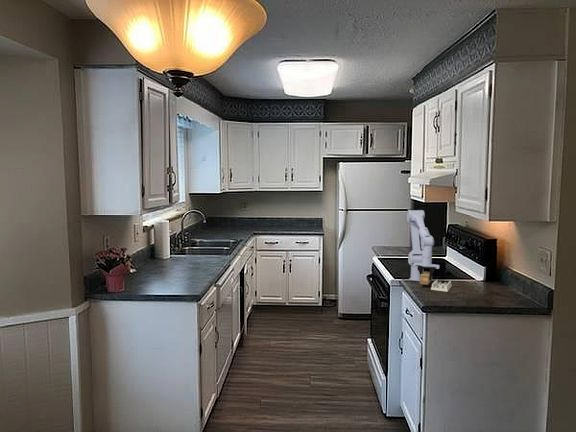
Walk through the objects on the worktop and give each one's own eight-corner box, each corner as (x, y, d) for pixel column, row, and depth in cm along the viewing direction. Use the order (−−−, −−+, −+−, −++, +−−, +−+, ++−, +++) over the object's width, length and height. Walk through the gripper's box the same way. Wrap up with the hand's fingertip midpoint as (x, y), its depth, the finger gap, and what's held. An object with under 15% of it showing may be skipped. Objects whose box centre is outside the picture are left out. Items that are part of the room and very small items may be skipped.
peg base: (435, 284, 271) (436, 279, 271) (451, 286, 267) (452, 280, 266) (430, 289, 259) (431, 284, 259) (447, 291, 254) (447, 286, 254)
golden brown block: (424, 279, 273) (424, 271, 273) (432, 280, 271) (432, 272, 271) (419, 283, 263) (419, 275, 262) (427, 284, 261) (427, 276, 260)
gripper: (412, 256, 266) (412, 279, 267) (438, 259, 258) (437, 282, 260) (415, 254, 272) (415, 276, 273) (440, 257, 264) (439, 279, 266)
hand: (426, 279), depth 267 cm, fingers closed on golden brown block, 4 cm apart
